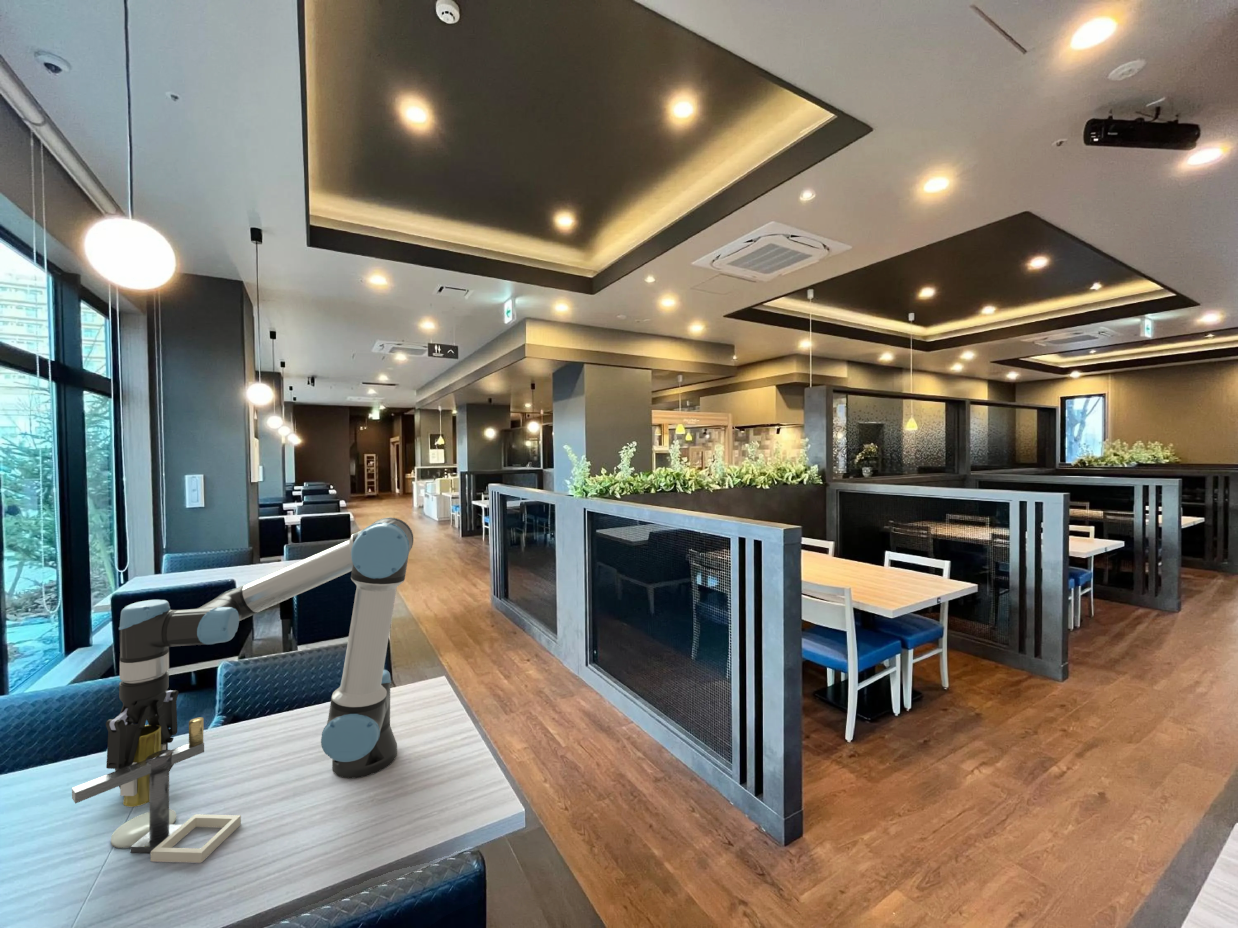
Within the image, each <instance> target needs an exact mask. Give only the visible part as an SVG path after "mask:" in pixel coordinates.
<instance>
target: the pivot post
mask: <svg viewBox="0 0 1238 928" xmlns="http://www.w3.org/2000/svg"><path fill="white" fill-rule="evenodd" d="M148 803H149V804H148V805H149V809H148V810H149V811H148V812H149V832H148V833H147V834H146V835H145V836H143V837H142V838H141V839H140V840H138V841H137V842H136V843H135V844H133V845H132V846H131V847H129V849H130V852H129V853H131V854H132V853H133V854H134V853H136V854H139V853H140V854H151V851H152V850H153V849H154V848H155V847H157V846H158V845H159V844H160V843H161V842H163V841H164V840H165V839H166V838H167V837H169V836H170V835H171V834H172V833H173V832H174V831H176V830H177V829H178V828H179V827H180V826H182V825H183V824H174V825H169V809H170V771H169V768H167V769H165V770H163V771H160V772H156V773H151V774H149V802H148Z"/></svg>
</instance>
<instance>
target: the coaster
mask: <svg viewBox="0 0 1238 928" xmlns="http://www.w3.org/2000/svg"><path fill="white" fill-rule="evenodd" d="M176 821H177V812H176V811H175V810H173V809H170V808H169V825H175V823H176ZM148 832H149V811H147V812H144V813H142V814H140V815H136V816H134V817H133V818H131V819H129V820H127V821H126V822H124V823H122V824H121V825H119V826H118V827H117V828H115V830H114V832H113V833H112V834H111V836H110V837H111V838H110V844H111V846H112V847H114V848H117V849H127V848H129V849H130V847H131V846H132V845H133V844H135V843H136V842H137V841H138V840H140V839H141V838H142V837H143V836H145V835H146V834H147V833H148Z"/></svg>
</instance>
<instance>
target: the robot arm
mask: <svg viewBox="0 0 1238 928" xmlns="http://www.w3.org/2000/svg"><path fill="white" fill-rule="evenodd" d="M413 545H414V533H413V531H412V528H411V527H410V525H409V524H407V522H405V521H403V520H402V519H399V518H395V517H383V518H380V519H377V520H376V521H374V522H373V523H371V524H370V525H368V526H366V527H365V528H363V529H361V530H359V531H357V532H355V533H352V534H351V536H350V537H349V539H348V540H346V541H344V542H341V543H339V544H337V545H334V546H332V547H330V548H327V549H325V550H322V551H320V552H318V553H315V554H313V555H310V556H309V557H306V558H303V559H302V560H299V561H297V562H294V563H292V564H290V565H288V566H285V567H283V568H281V569H279V570H275V571H274V572H271V573H269V574H267V575H264V576H262V577H259V578H258V579H255V580H252V581H250V582H248V583H246V584H244V585H242V586H239V587H236V588H232V589H229V590H226V591H224V592H222V593H221V594H219V595H218V596H216V597H215V598H214V599H212V600H210V601H208V602H206V603H205V604H203V605H202V606H200V607H197V608H190V609H171V606H170V603H169V601H168V600H166V599H148V600H142V601H136V602H134V603H130V604H128V605H125V606H124V608H122V609H121V611H120V618H119V619H120V620H119V627H118V631H119V652H120V653H119V680H120V682H119V684H118V686H119V687H118V690H119V694H118V696H119V697H118V698H119V700H120V702H122V707H121V710H120V713H119V714H118V715H117V716H116V717H115V718H113V719H111V718H110V719H108V720H106V722H105V727H106V729H107V732H108V733H107V747H106V748H107V749H106V769H109V770H110V769H113V770H115V769H118V770H120V769H123V768H125V767H128V766H130V765H133V764H136V763H137V762H133V761H134V757H135V753H136V749H137V745H138V741H139V737H140V733H141V730H142V728H144V727H145V725H146V723H147V725H151V727H157V725H160V726H161V750H169V744H171V743H172V742H173V741H174V737H173V736H176V735H177V733H178V710H177V709H178V708H177V700H178V695H179V690H171V689H170V690H169V686H170V685H169V682H170V680H169V677H170V676H169V674H170V673H169V672H168V671H169V669H170V648H171V647H181V646H182V647H185V646H196V645H198V646H201V645H207V646H208V645H215V644H220V643H227V642H229V641H231V640H232V639H233V638H234V637H235V636H236V633H237V632H238V628H239V623H240V621H242V620H245V619H247V618H249V617H252V616H253V615H255V614H258V613H259V612H261V611H264V610H266V609H269V608H271V607H273V606H276V605H278V604H280V603H282V602H284V601H287V600H289V599H290V598H294V597H296V596H298V595H300V594H303V593H305V592H307V591H310V590H312V589H315V588H316V587H319V586H321V585H323V584H325V583H328V582H329V581H332V580H334V579H337V578H338V577H341V576H343V575H345V574H348V573H350V572H351V574H350V579H351V581H352V582H353V583H354V584H355V586H356V590H355V594H354V600H353V602H354V603H353V606H352V607H353V608H352V615H351V620H350V626H349V633H348V638H347V645H346V649H345V650H346V651H345V658H344V664H343V669H342V676H341V680H340V685H339V687H338V688H336V689H335V690H334V691H333V692H332V695H331V699H330V705H329V710H328V711H329V712H328V716H327V717H328V718H327V721H326V724H325V726H324V728H323V730H322V731H321V739H320V745H321V748H322V749H321V750H322V751H323V752H324V754H325V755H327V756H328V757H329V759H332V760H331V761H332V765H331V766H332V767H331V768H332V772H333V773H334V775H336V776H337V777H340V778H344V779H357V778H358V779H359V778H363V777H368V776H371V775H374V774H377V773H378V772H381V771H383V770H385V769H386V768H388V766H391V764H392V763H393V762H394V761H395V759H396V758H397V756H398V743H397V740H396V737H395V734H394V732H393V730H392V727H391V683H392V680H391V673H390V672H389V671H388V669H385V663H386V657H387V650H388V643H389V638H390V637H389V636H390V631H391V625H392V619H393V614H394V613H393V612H394V606H395V600H396V594H397V588H398V587H399V586H400V585H401V584H403V583H404V582H405V581H406V575H407V574H406V573H407V567H408V560H409V554H410V552H411V550H412V548H413ZM119 791H120V793H119V795H120V796H121V797H124V796H134V795H136V794H137V779H136V780H133V781H131V782H128V783H126V784H123V785H121V786H120V787H119Z"/></svg>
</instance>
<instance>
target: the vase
mask: <svg viewBox="0 0 1238 928" xmlns="http://www.w3.org/2000/svg"><path fill="white" fill-rule="evenodd" d="M158 751H161V726H160V725H157V727H151V725H149V724H147V725H146V724H145V727H144V728H142V730H141V733H140V737H139V741H138V745H137V749H136V753H135V757H134V761H133V762H137V763H138V762H141V761H144V760H146V758H147V757H148V756H149V755H151V754H153V753H155V752H158ZM122 801H123V802H122V804H123V806H125V807H131V808H133V807H138V806H139V807H140V806H142V805H145V804H148V803H149V774H148V775H146V776H143V777H141V778H138V779H137V794H136V795H134V796H123V800H122Z"/></svg>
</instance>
